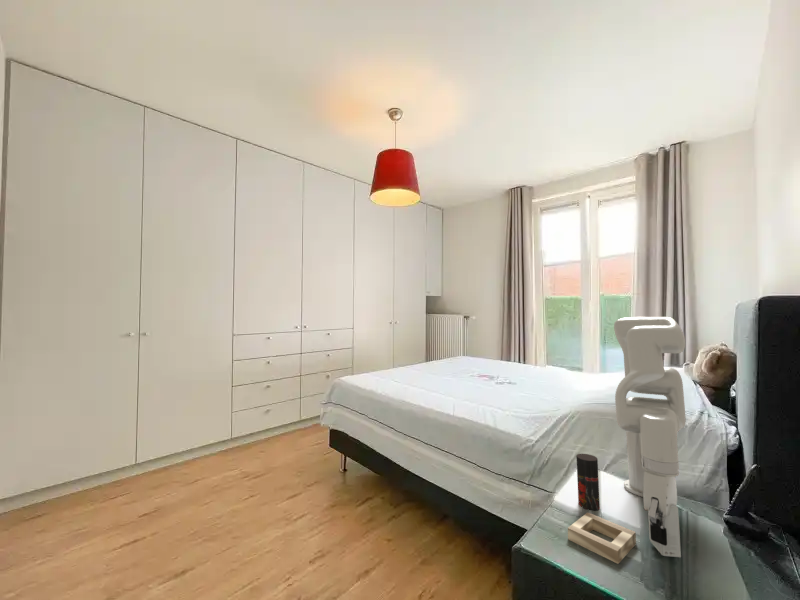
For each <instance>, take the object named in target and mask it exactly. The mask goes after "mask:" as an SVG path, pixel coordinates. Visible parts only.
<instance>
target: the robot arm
mask: <svg viewBox="0 0 800 600" xmlns="http://www.w3.org/2000/svg"><path fill="white" fill-rule="evenodd" d="M613 331H614V334H615V338H616V339H617V342H618V344H619V345H620V348H621V349H622V353H623V365H624V377H623V378H622V379H621V381H620V382H619V383H618V385H617V387H616V390H615V395H614V400H615V401H614V402H615V417H616V422H617V424H618V427H619V428H620V429H621V430H623V431H624V432H625V433H626V436H625V437H626V449H627V453H626V454H627V468H628V469H627V471H628V479H626V480H624V482H623V487H624V489H625V490H627V492H629V493H632V494H634V495H635V496H638V497H641V498H643V509H644V510H645V511H647V512H648V511H649V510H650V511H649V519H648V521H649V520H650V533H651V540H653V541H655V542H658V543H660V544H662V545H665V546H666V545H667V531H666V528H665V517H668V516H669V515H670V510H671V506H672V505H673V504H675V505H676V506H677V505H678V504H677V503H678V490H677V488H678V487H677V479H676V477H678V476H679V475H680V464H679V462H680V461H679V454H678V453H679V449H678V432H679V431H680V430H681V429H684V428H685V425H686V423H687V422H686V405H685V395H684V383H683V379H682V375H681V373H680V371H678V370H677V369H675V368H674V367H668V366H667V367H666V366H664V361H663V354H681V353H683V352H684V350H685V349H686V348H685V347H686V338H685V334H684V332H683V330H682V328H681V326H680V325H679V323H678V322H677V321H676V320H675V318H673V317H669V316H632V317H631V316H630V317H622V318H619V319H616V320H615V321H614V324H613ZM629 392H632V393H636V394H641V395H644V394H645V395H655V396H664V397H666V399H665V398H664V399H663V398H653V397H645V396H643V397H642V396H641V397H640V396H630V397H627V395H628V393H629ZM659 508H660V510H661V512H662V514H660V513H657V512H658V510H659ZM657 515H658V516H661V522H660V520H659V519H657Z"/></svg>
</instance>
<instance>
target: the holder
mask: <svg viewBox="0 0 800 600" xmlns="http://www.w3.org/2000/svg"><path fill="white" fill-rule="evenodd" d="M593 530H594V531H596V532H597V533H600V534H602V535H604V536H606V537H609V538H610V539H613V540H612V541H609V540H606V539H604V538H601V537H600V536H598V535H595V534H593V533H592V531H593ZM636 533H637V532H636V531H634V530H632V529H629V528H627V527H624V526H622V525H620V524H617V523H614V522H612V521H610V520H607V519H605V518H603V517H600V516H598V515H595V514H593V513H590V512H586V513H585V514H583V516H581V517H580V518H578V519H577V520H576V521H575V522H573V523H572V524H571V525H569V526H568V527H567V540H568V541H571V542H573V543H575V544H576V545H579V546H581V547H582V548H584V549H586V550H589V551H591V552H593V553H595V554H597V555H599V556H601V557H602V558H604V559H607V560H609V561H611V562H614V563H615V564H617V565H619V564H620V563H621V562H622V561H623V560H624V559H625V557H626V556H627V555H628V554H629V553H630V552H631V550H632V549H634V548H635V546H636V545H637V534H636Z"/></svg>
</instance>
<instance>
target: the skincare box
mask: <svg viewBox="0 0 800 600" xmlns="http://www.w3.org/2000/svg"><path fill="white" fill-rule="evenodd" d="M649 511H650V510H649ZM649 511H647V514H648V515H647V516H648V533H649V534H648V535H649V536H648V537H649V541H650V543H651V544H652V545H653V546H654V547H655V549H656V550H657V551H658V552H659V553H660V555H661V556H664V557H672V558H673V557H674V558H681V557H682V555H681V554H682V553H681V538H680V537H681V536H680V534H681V533H680V519H679V507H678V506H677V505H675V504H673V505H672V506H671V510H670V515H669V516H668V517H665V528H666V531H667V545H666V546H665V545H662V544H660V543H658V542H655V541H653V540H651V533H650V520H649ZM657 513H660V514H662V512H661V510H660V508H659V510H658V512H657ZM657 519H659V520H660V522H661V516H658V515H657Z"/></svg>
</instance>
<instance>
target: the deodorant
mask: <svg viewBox="0 0 800 600" xmlns="http://www.w3.org/2000/svg"><path fill="white" fill-rule="evenodd" d="M575 457H576V473H577V474H576V476H577V499H578V506H579V507H580V508H582V509H584V510H587V511H591V512H596V511H599V510H600V509H601V503H600V485H599V483H600V481H599V479H600V478H599V463H598V462H599V461H598V458H597V456H595V455H593V454H590V453H589V454H588V453H577V454H576V456H575Z"/></svg>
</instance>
